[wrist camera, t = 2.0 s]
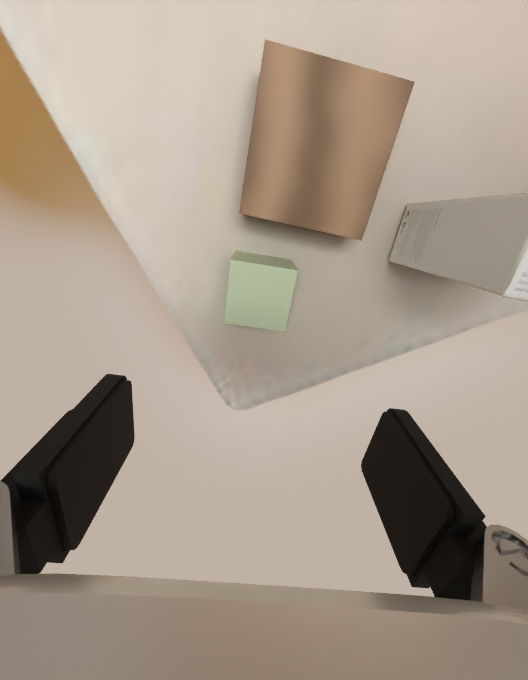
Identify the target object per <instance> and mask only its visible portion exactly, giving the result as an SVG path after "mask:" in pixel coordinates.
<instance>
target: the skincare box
mask: <svg viewBox="0 0 528 680" xmlns="http://www.w3.org/2000/svg"><path fill="white" fill-rule="evenodd" d="M389 261H390V262H393V263H396V264H400V265H403V266H407V267H410V268H413V269H416V270H420V271H423V272H426V273H430V274H433V275H436V276H440V277H443V278H446V279H450V280H453V281H456V282H460V283H463V284H466V285H470V286H473V287H476V288H480V289H483V290H486V291H489V292H492V293H495V294H498V295H501V296H503V297H507V298H513V299H518V300H523V301H528V193H521V194H510V195H500V196H489V197H478V198H467V199H455V200H445V201H435V202H424V203H413V204H408V205H407V207H406V210H405V213H404V216H403V219H402V222H401V225H400V228H399V231H398V234H397V236H396V239H395V242H394V245H393V248H392V250H391V254H390V256H389Z"/></svg>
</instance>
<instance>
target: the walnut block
mask: <svg viewBox="0 0 528 680" xmlns="http://www.w3.org/2000/svg"><path fill="white" fill-rule="evenodd" d="M413 85H414V82H413V81H409V80H406V79H402V78H399V77H395V76H392V75H388V74H385V73H381V72H378V71H374V70H371V69H367V68H364V67H360V66H357V65H353V64H350V63H346V62H343V61H339V60H335V59H332V58H328V57H325V56H321V55H318V54H314V53H311V52H307V51H304V50H300V49H297V48H293V47H290V46H286V45H283V44H279V43H276V42H272V41H269V40H265V44H264V51H263V58H262V64H261V71H260V78H259V84H258V91H257V98H256V105H255V111H254V118H253V125H252V132H251V138H250V145H249V152H248V158H247V165H246V172H245V179H244V185H243V192H242V199H241V206H240V212H239V213H240V214H244V215H249V216H253V217H258V218H262V219H267V220H271V221H276V222H281V223H285V224H290V225H294V226H299V227H303V228H308V229H312V230H317V231H321V232H326V233H330V234H335V235H339V236H344V237H348V238H353V239H357V240H362V238H363V235H364V232H365V229H366V226H367V223H368V220H369V217H370V214H371V211H372V208H373V205H374V202H375V199H376V196H377V193H378V190H379V187H380V184H381V181H382V178H383V175H384V172H385V169H386V166H387V163H388V160H389V157H390V154H391V151H392V148H393V145H394V142H395V139H396V136H397V133H398V130H399V127H400V124H401V121H402V118H403V115H404V112H405V109H406V106H407V103H408V100H409V97H410V94H411V91H412V88H413Z"/></svg>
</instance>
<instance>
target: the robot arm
mask: <svg viewBox="0 0 528 680" xmlns="http://www.w3.org/2000/svg"><path fill="white" fill-rule="evenodd" d="M133 443H134V421H133V403H132V385H131V381H127V378H126V377H125V376H121V375H113V374H107V375H105V377H103V379H101V381H99V383H98V384H97V385H96V386H95V387H94V388H93V389H92V390H91V391H90V392H89V393H88V394H87V395H86V396H85V397H84V398H83V399H82V401H81V402H80V403H79V404H78V405H77V406H76V407H75V408H74V409H72V410H70V411H68V412H67V413H66V414H65V415H64V416H63V417H62V418H61V419H60V420H59V421H58V422H57V423H56V424H55V425H54V426H53V427H52V428H51V430H49V431H48V433H46V435H45V436H44V437H43V438H42V439H41V440H40V441H39V442H38V443H37V444H36V445H35V446H34V447H33V448H32V449H31V450H30V451H29V452H28V453H27V454H26V455H25V456H24V457H23V458H22V459H21V460H20V461H19V462H18V463H17V465H16V466H15V467H14V468H13V469H12V470H11V471H10V472H9V473H8V474H7V475H6V476H5V477H4V478H3V479H2V480H1V481H0V680H528V540H526V539H525V538H524V537H522V536H520V535H519V534H518V533H516V532H515V531H513V530H511V529H508V528H507V527H503V526H500V525H490V526H488V527H486V525H485V524H484V522H483V521H482V520H483V519H484V518H485V515H484V514H483V512H482V511H481V510H480V509H479V507H478V506H477V504H476V503H475V502H474V500H473V499H472V498H471V496H470V495H469V494H468V492H467V491H466V490H465V488H464V487H463V486H462V484H461V483H460V482H459V480H458V479H457V478H456V476H455V475H454V474H453V472H452V471H451V470H450V468H449V467H448V465H447V464H446V463H445V462H444V460H443V459H442V457H441V456H440V455H439V453H438V452H437V451H436V449H435V448H434V447H433V445H432V444H431V443H430V441H429V440H428V439H427V437H426V436H425V434H424V433H423V432H422V430H421V429H420V428H419V426H418V425H417V424H416V422H415V421H414V420H413V418H412V417H411V416H410V414H409V413H408V412H407V411H405V410H399V409H388V410H387V412H384V413H383V414H382V416H381V418H380V421H379V423H378V425H377V427H376V430H375V432H374V435H373V437H372V439H371V441H370V444H369V446H368V448H367V451H366V453H365V455H364V458H363V460H362V464H361V467H362V472H363V475H364V477H365V480H366V482H367V485H368V487H369V490H370V492H371V495H372V498H373V500H374V503H375V505H376V508H377V510H378V513H379V515H380V517H381V520H382V523H383V525H384V528H385V530H386V533H387V535H388V538H389V540H390V543H391V545H392V548H393V550H394V553H395V556H396V558H397V561H398V563H399V566H400V568H401V570H402V571H403V572H404V573H405V574H407V576H408V579H409V581H410V583H411V586H412V587H420V588H421V587H422V588H429V587H431V589H432V591H433V593H434V597H426V596H414V595H401V594H387V593H372V592H358V591H344V590H331V589H315V588H301V587H286V586H271V585H256V584H240V583H224V582H208V581H190V580H175V579H158V578H141V577H125V576H101V575H100V576H99V575H76V574H75V575H74V574H39V573H40V572H41V571H42V569H43V567H44V566H45V564H46V563H47V562H52V563H63V561H64V560H65V558H66V556H67V554H68V553H69V551H70V550H74V549H76V548H77V547H78V545H79V544H80V542H81V540H82V538H83V537H84V535H85V533H86V531H87V529H88V527H89V526H90V524H91V522H92V520H93V518H94V516H95V515H96V513H97V511H98V509H99V507H100V505H101V503H102V502H103V500H104V498H105V496H106V494H107V492H108V491H109V489H110V487H111V485H112V483H113V481H114V480H115V478H116V476H117V474H118V472H119V470H120V468H121V466H122V465H123V463H124V461H125V459H126V458H127V456H128V454H129V452H130V450H131V448H132V446H133Z"/></svg>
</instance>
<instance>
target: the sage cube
mask: <svg viewBox="0 0 528 680" xmlns="http://www.w3.org/2000/svg"><path fill="white" fill-rule="evenodd" d="M297 273H298V270H297V268H296V267H295V265H294V264H293V262H292V260H289V259H283V258H276V257H270V256H264V255H258V254H251V253H245V252H239V251H236V252H235V253H234V255H233V256H232V258H231V260H230V268H229V278H228V288H227V298H226V308H225V318H224V324H231V325H238V326H246V327H253V328H260V329H267V330H274V331H281V332H285V331H286V326H287V321H288V316H289V312H290V307H291V302H292V297H293V292H294V287H295V283H296V278H297Z"/></svg>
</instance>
